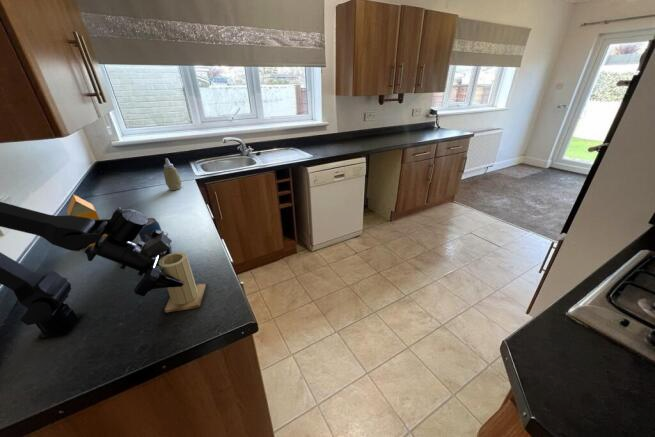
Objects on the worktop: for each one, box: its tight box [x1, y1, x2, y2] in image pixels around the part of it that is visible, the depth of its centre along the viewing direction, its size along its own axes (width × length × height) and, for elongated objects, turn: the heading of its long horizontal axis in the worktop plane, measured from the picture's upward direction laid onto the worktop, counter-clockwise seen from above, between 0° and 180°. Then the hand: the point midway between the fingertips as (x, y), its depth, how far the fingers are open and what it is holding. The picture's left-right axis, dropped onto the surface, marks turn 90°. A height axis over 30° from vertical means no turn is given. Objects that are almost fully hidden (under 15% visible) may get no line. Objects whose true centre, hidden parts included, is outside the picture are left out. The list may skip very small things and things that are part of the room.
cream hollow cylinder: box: [158, 251, 198, 305], centre depth 75 cm, size 7×7×13 cm
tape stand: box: [164, 283, 207, 314], centre depth 78 cm, size 9×9×5 cm
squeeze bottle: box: [163, 157, 182, 191], centre depth 154 cm, size 8×8×18 cm
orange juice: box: [66, 193, 108, 250], centre depth 102 cm, size 8×9×20 cm
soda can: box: [138, 217, 162, 243], centre depth 99 cm, size 7×7×12 cm
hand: (184, 276), depth 76 cm, fingers closed on cream hollow cylinder, 7 cm apart
